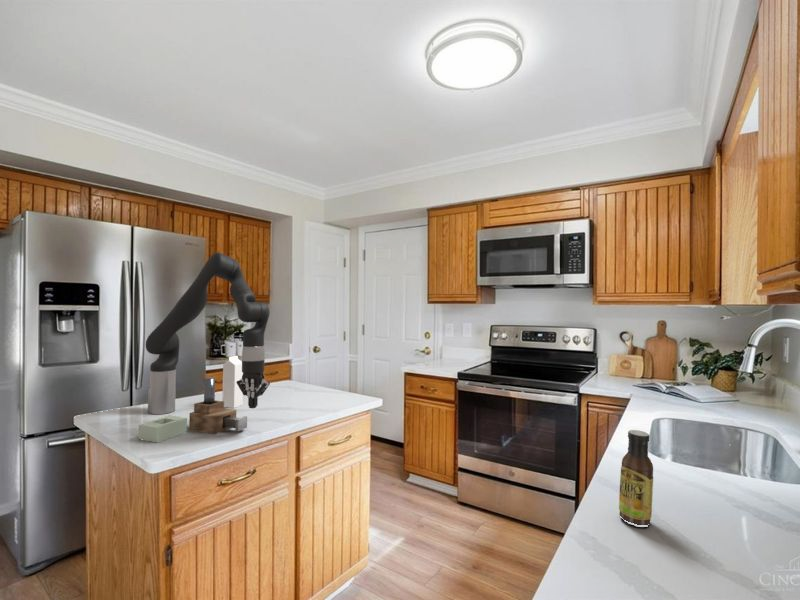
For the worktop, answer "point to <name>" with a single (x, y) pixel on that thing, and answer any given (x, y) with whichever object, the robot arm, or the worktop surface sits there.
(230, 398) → the milk
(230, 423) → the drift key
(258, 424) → the worktop surface
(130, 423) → the worktop surface
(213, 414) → the socket block
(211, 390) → the grey peg
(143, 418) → the worktop surface
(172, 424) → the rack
